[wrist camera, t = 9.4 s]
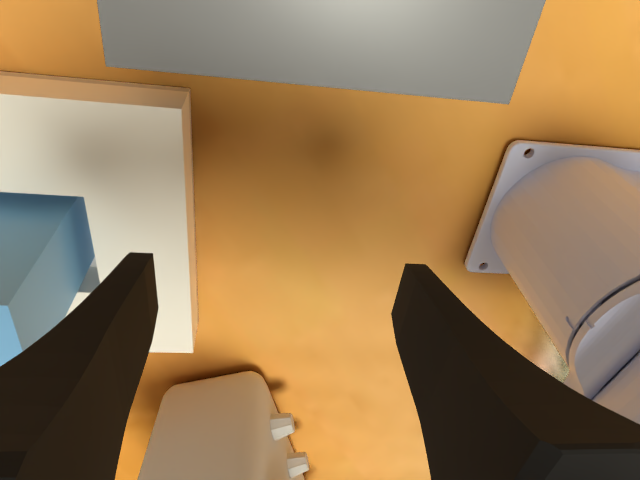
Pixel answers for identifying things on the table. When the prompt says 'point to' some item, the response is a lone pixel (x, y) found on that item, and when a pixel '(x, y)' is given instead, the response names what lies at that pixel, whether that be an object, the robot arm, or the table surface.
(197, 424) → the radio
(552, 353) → the table surface
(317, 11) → the grey square socket block
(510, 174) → the robot arm
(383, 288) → the table surface
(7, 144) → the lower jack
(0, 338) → the plug
